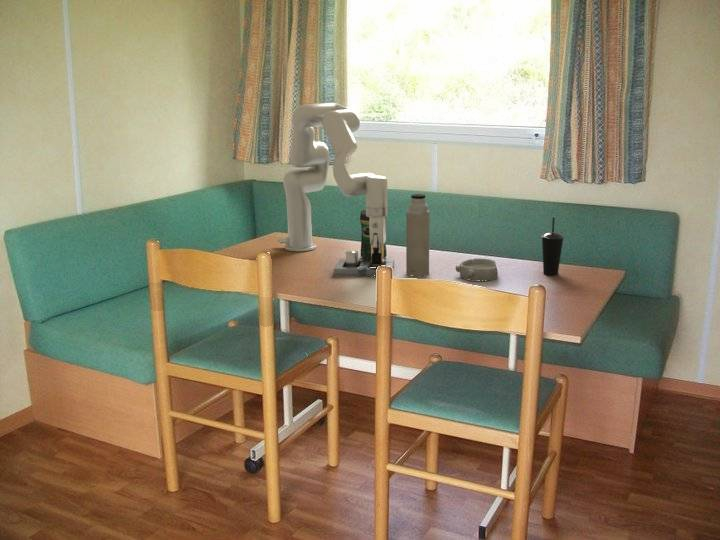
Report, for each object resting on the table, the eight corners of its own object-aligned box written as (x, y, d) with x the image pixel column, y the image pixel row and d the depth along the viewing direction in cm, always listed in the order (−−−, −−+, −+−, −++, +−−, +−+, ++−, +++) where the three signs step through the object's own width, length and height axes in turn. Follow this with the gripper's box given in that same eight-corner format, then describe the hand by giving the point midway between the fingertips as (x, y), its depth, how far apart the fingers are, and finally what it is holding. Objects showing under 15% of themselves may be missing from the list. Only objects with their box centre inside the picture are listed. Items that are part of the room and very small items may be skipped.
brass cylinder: (370, 265, 272) (370, 246, 270) (372, 262, 277) (371, 243, 275) (383, 265, 272) (382, 246, 270) (384, 262, 276) (384, 243, 274)
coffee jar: (389, 257, 294) (389, 209, 289) (379, 261, 288) (378, 212, 283) (368, 254, 299) (367, 206, 294) (357, 258, 293) (356, 210, 288)
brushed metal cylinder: (345, 272, 274) (344, 253, 272) (347, 269, 279) (346, 250, 277) (357, 272, 274) (357, 253, 272) (359, 269, 278) (358, 250, 276)
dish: (490, 270, 275) (490, 256, 273) (505, 281, 262) (506, 266, 260) (451, 273, 272) (451, 259, 270) (465, 284, 259) (465, 269, 257)
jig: (333, 275, 270) (333, 268, 269) (340, 265, 284) (339, 258, 283) (390, 277, 268) (390, 270, 267) (394, 266, 281) (394, 259, 280)
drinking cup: (549, 278, 263) (552, 220, 258) (534, 273, 270) (537, 216, 264) (566, 275, 267) (570, 218, 261) (551, 270, 273) (554, 214, 268)
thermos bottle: (401, 273, 271) (401, 195, 264) (416, 269, 277) (417, 192, 269) (418, 278, 266) (419, 197, 258) (433, 273, 271) (434, 194, 264)
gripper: (385, 216, 261) (385, 268, 265) (389, 207, 277) (390, 256, 282) (363, 216, 262) (364, 268, 266) (368, 207, 278) (369, 256, 283)
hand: (377, 261), depth 274 cm, fingers closed on brass cylinder, 4 cm apart
